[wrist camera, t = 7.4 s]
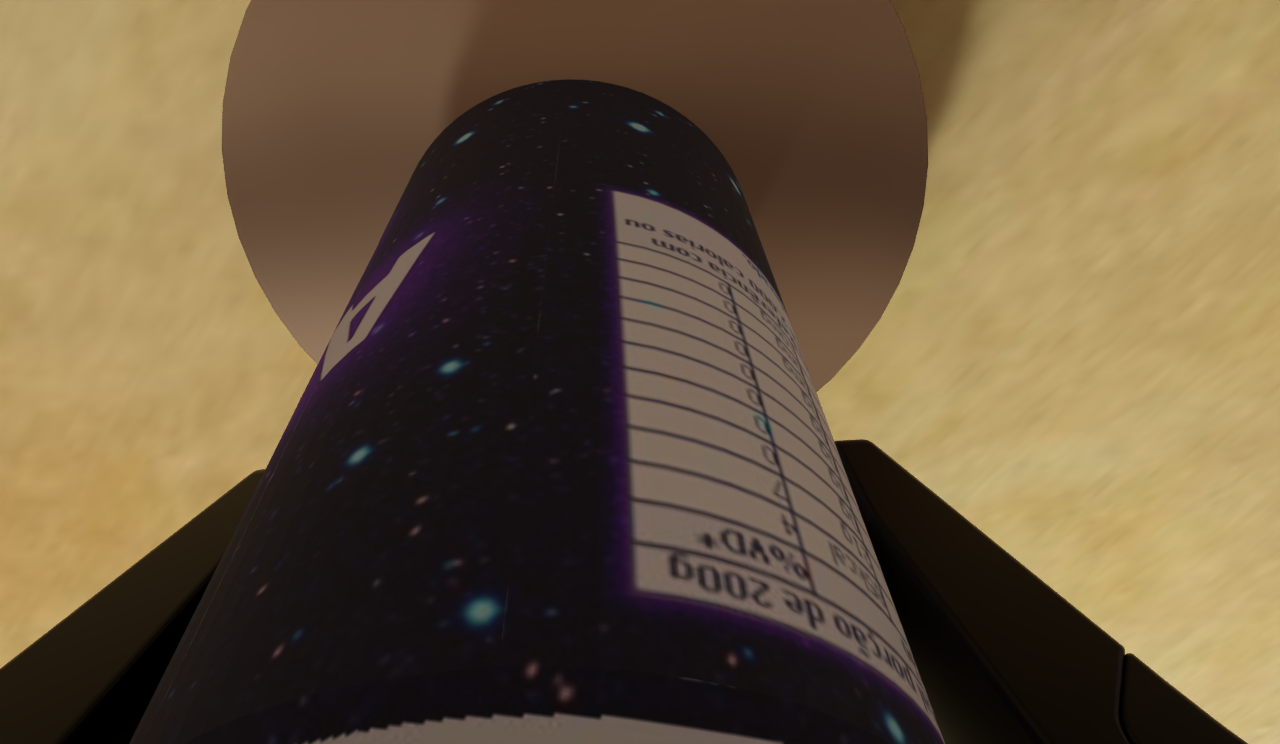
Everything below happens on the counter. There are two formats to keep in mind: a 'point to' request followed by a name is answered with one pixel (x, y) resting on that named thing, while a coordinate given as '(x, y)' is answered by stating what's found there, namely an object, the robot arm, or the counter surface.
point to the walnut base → (598, 51)
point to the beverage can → (554, 477)
